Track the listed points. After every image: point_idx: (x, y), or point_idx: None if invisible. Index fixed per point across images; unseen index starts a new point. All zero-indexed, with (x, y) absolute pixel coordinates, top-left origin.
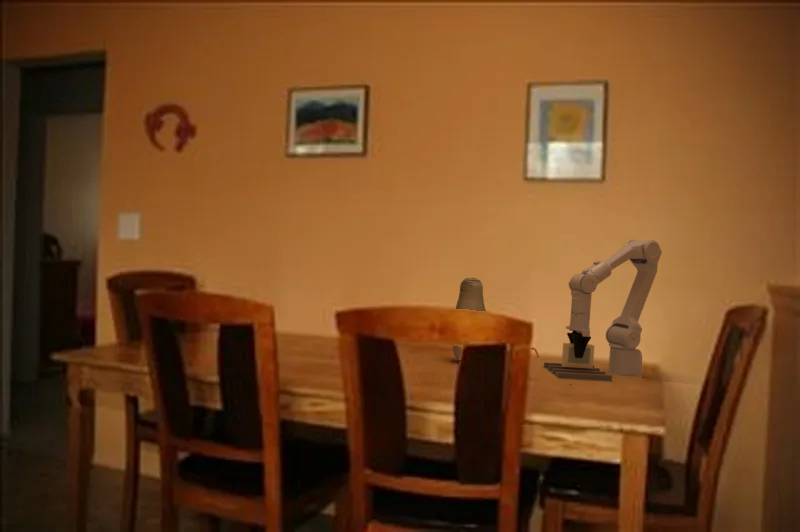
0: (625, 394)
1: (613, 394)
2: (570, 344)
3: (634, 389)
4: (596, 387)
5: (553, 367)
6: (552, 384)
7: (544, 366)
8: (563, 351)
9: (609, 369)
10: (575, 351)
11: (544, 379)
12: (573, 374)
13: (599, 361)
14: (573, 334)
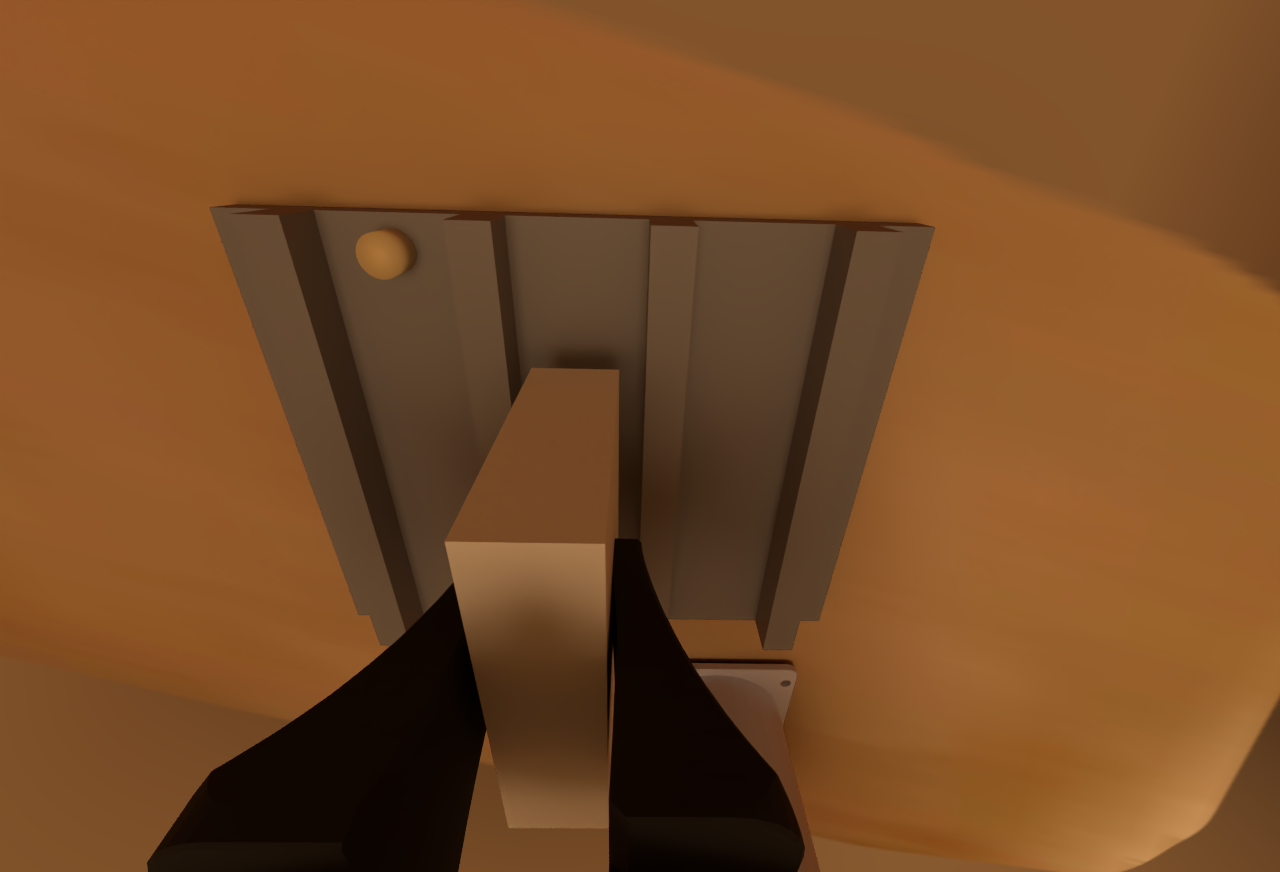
0: (101, 579)
1: (32, 512)
2: (461, 611)
3: (311, 662)
4: (218, 475)
5: (649, 279)
6: (55, 77)
7: (848, 225)
8: (559, 453)
9: (717, 699)
10: (452, 584)
11: (307, 55)
12: (296, 380)
13: (1163, 735)
14: (274, 865)
